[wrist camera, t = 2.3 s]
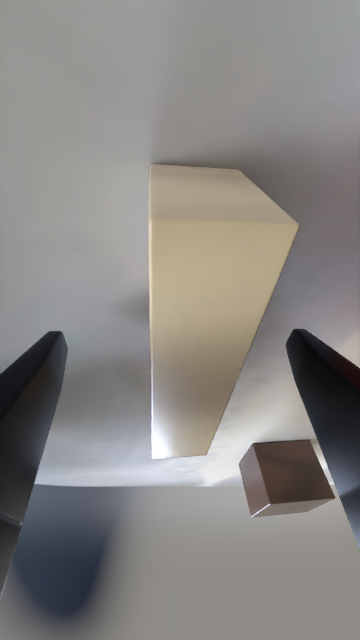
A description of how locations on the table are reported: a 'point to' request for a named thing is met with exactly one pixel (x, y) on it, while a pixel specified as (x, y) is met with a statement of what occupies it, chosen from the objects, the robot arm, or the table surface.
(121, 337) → the table surface
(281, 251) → the birch bar
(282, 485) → the walnut block
